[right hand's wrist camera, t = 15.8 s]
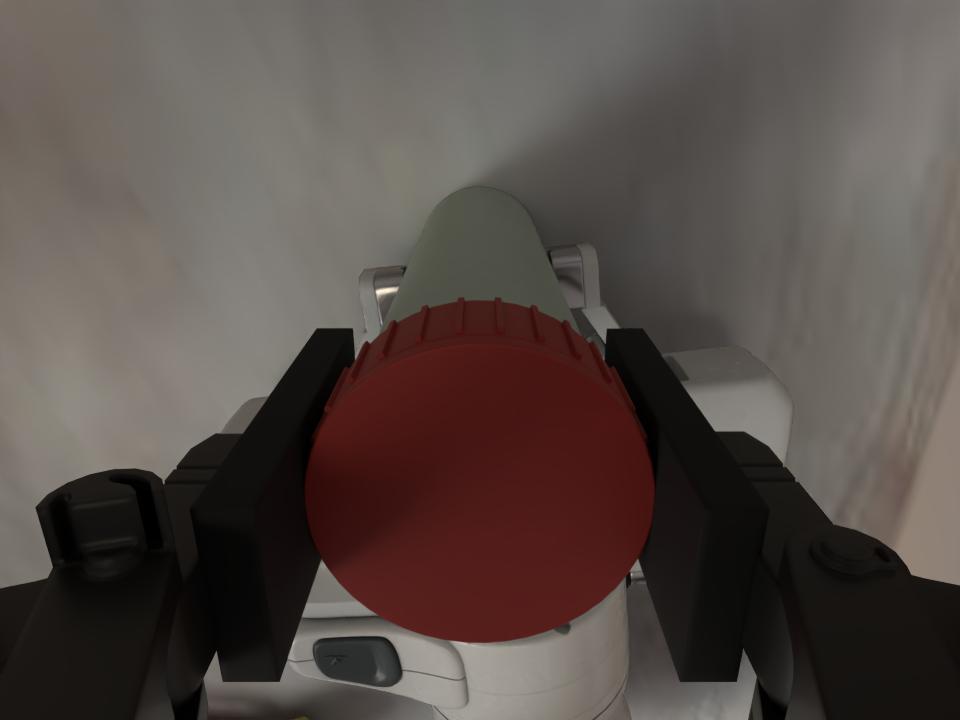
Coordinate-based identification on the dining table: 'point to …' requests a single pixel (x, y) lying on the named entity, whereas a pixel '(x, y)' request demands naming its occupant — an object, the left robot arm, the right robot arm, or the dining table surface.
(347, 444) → the lid
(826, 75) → the dining table surface
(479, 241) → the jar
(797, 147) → the dining table surface
